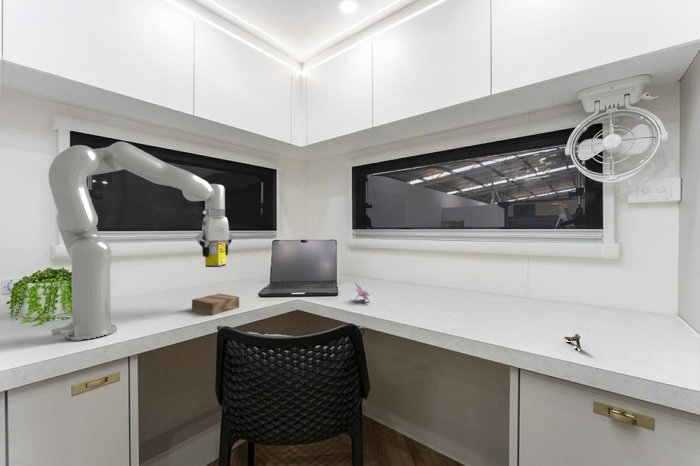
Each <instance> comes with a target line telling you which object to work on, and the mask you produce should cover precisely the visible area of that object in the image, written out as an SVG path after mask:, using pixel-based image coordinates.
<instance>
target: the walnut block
mask: <svg viewBox="0 0 700 466" xmlns="http://www.w3.org/2000/svg"><path fill="white" fill-rule="evenodd" d="M239 308H240V297H239V296H235V295H230V294H223V293H216V294H211V295H206V296H202V297H198V298H193V299H191V311H192V312H194V313H195V312H196V313H201V314H206V315H210V316H215V315H218V314H221V313H225V312H228V311H232V310H236V309H239Z"/></svg>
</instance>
